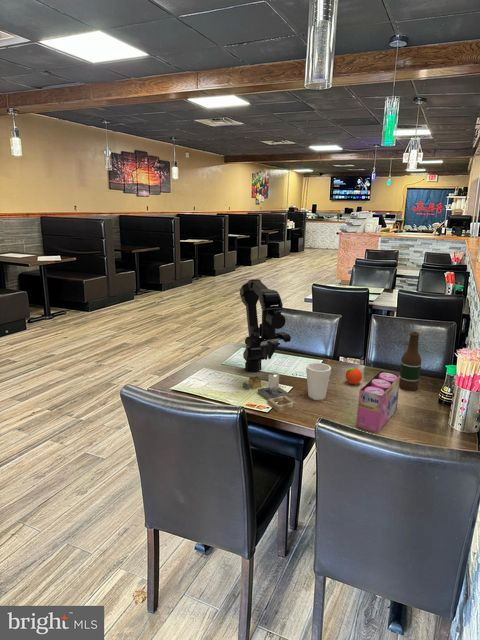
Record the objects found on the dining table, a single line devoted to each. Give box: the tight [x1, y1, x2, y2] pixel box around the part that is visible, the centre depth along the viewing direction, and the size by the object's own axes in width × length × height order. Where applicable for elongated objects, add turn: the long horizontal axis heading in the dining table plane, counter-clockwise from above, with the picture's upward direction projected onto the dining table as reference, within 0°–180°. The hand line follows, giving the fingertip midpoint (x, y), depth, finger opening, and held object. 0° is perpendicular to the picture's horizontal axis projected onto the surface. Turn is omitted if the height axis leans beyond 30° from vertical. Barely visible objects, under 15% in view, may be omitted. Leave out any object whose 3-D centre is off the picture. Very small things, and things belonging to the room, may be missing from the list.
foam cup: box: [305, 362, 332, 401], centre depth 167 cm, size 10×9×13 cm
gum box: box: [355, 370, 400, 434], centre depth 153 cm, size 24×8×14 cm, turn 145°
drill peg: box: [267, 371, 280, 395], centre depth 167 cm, size 4×4×9 cm
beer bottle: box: [399, 331, 422, 392], centre depth 177 cm, size 8×8×24 cm
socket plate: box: [242, 382, 291, 400], centre depth 171 cm, size 14×18×3 cm
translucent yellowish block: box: [248, 375, 262, 390], centre depth 176 cm, size 4×3×4 cm
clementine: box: [344, 367, 363, 385], centre depth 183 cm, size 8×7×7 cm
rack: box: [266, 396, 297, 412], centre depth 160 cm, size 8×7×3 cm
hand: (267, 359), depth 176 cm, fingers closed
